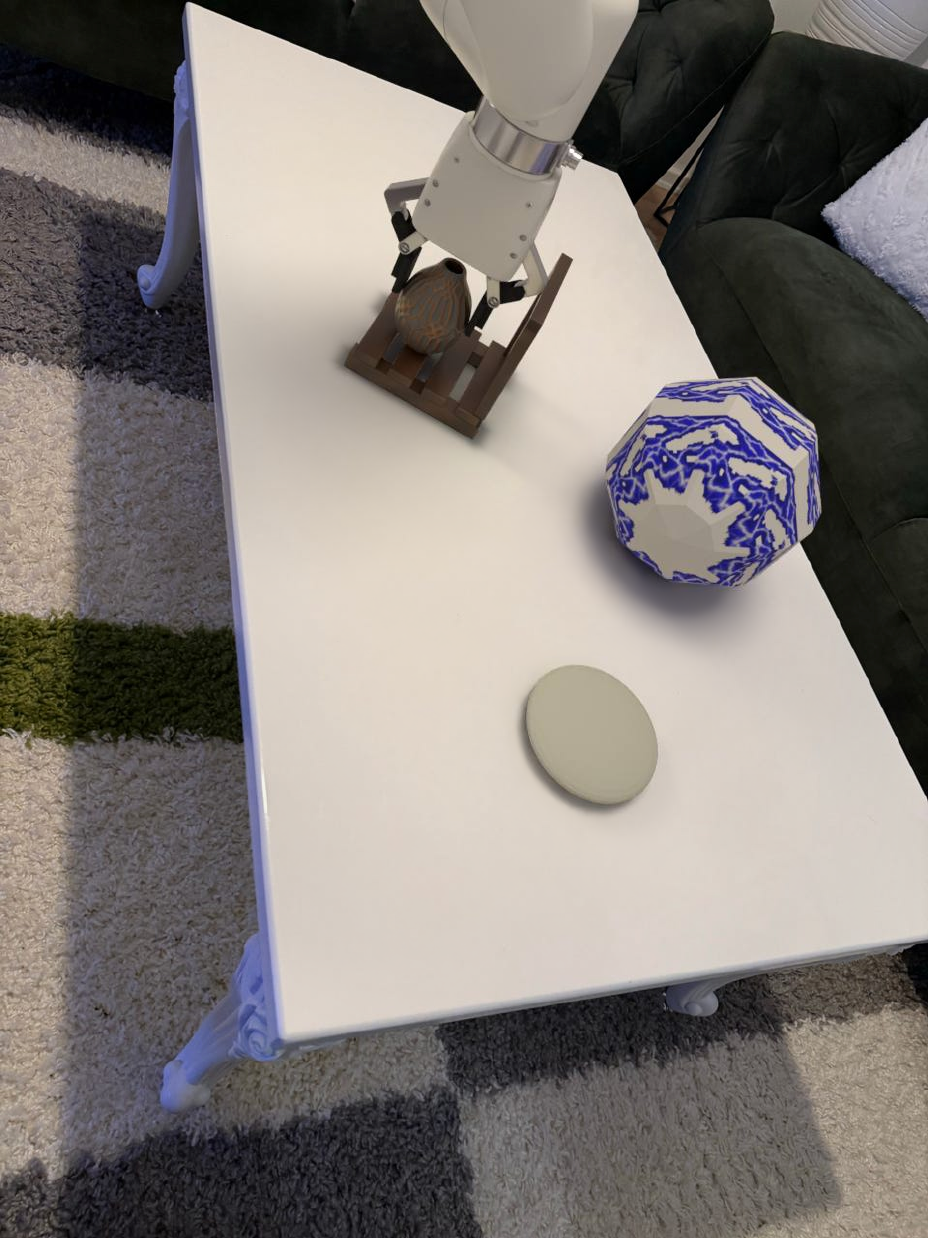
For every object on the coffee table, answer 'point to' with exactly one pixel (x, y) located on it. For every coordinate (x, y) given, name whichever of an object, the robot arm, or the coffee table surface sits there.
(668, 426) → the ornament
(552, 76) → the robot arm
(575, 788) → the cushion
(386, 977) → the coffee table surface
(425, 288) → the vase
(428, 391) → the rack
